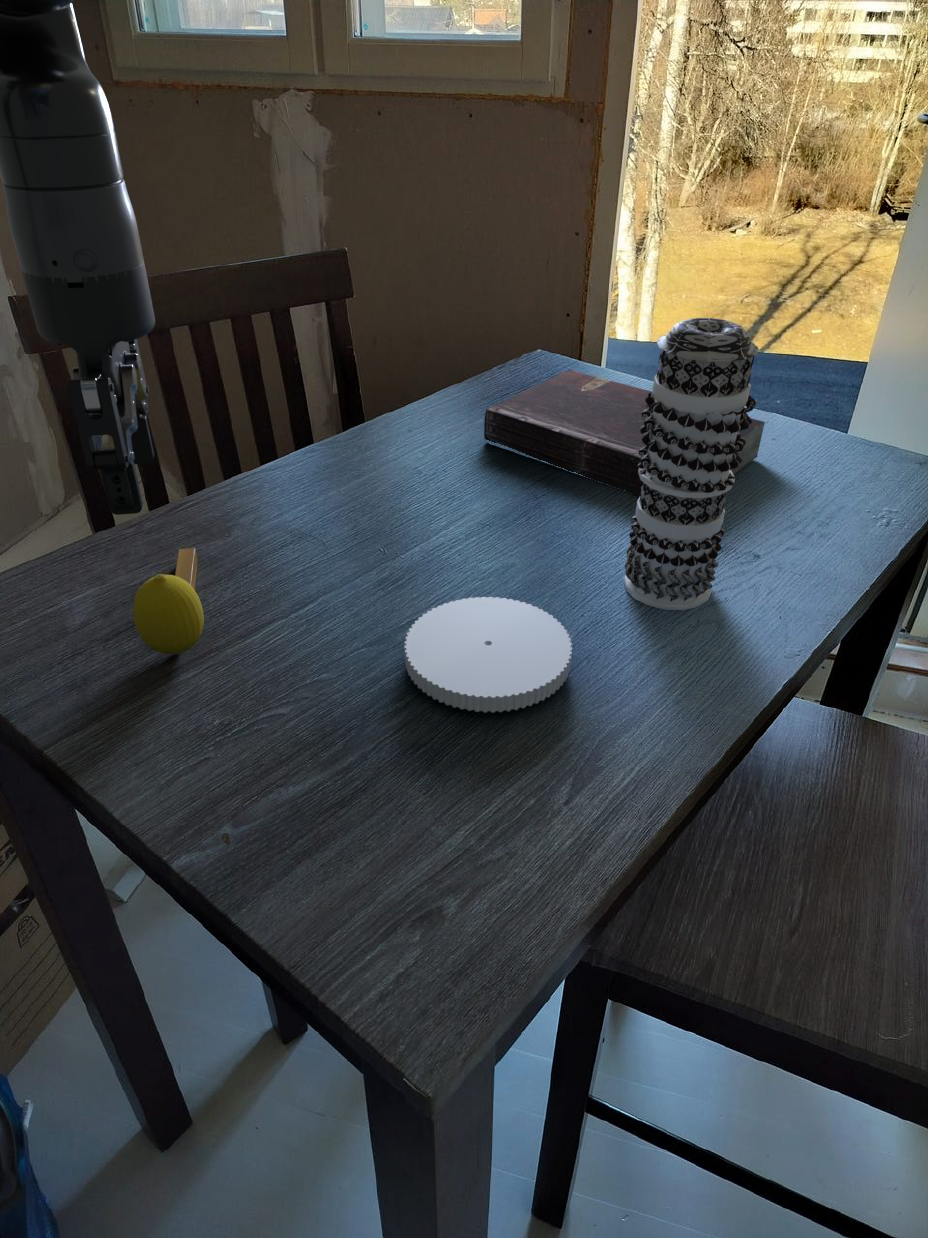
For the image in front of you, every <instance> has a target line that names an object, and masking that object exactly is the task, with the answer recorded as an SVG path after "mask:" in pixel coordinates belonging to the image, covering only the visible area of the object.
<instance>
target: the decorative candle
mask: <svg viewBox="0 0 928 1238" xmlns="http://www.w3.org/2000/svg"><path fill="white" fill-rule="evenodd" d="M656 344H657V346H658V348H659V349H660V354H659V357H658V361H657V363H658V370H657V372H656V374H655V376H654V377H653V383H652V391H651V392H652V394H653V396H654V397H651V393H649V394H647V395H646V396H645V402H646V403H647V404H646V409H645V410H643V412H642V417H643V418H644V419H645V420H644V425H643V426H642V427H641V428H640V432H641V434H643V435H642V436H641V440H642V442H643V447H642V448H640V449H639V455H640V456H641V459H640V463H639V464H638V466H637V467H639V470H638V473H639V476H640V479H641V481H643V482H642V485H641V496H639V498H638V499H637V500H636V508H635V515H633V516H632V517H631V519H630V522H631V531H630V532H629V538H630V539H629V544H630V545H629V546H628V547H627V549H626V561H625V562H624V563H625V564H624V568H625V570H624V573H625V574H624V577H623V584H624V589H625V591H626V592H627V593H628V594H629V595H630V596H631V597H632V598H633V599H634V600H636V601H639V602H640V603H642V604H644V605H645V606H648V607H652V608H656V609H661V610H665V611H685V610H686V611H687V610H690V609H694V608H698V607H700V606H702V605H703V604H705V603H706V602H708V601H709V598H710V597H711V594H712V591H713V584H712V582H714V581H716V576H715V574H716V568H718V567H719V562H718V561H717V558H718V557H719V552H720V551H721V550H722V547H723V546H722V544H721V542H722V540H723V537H724V536H725V533H726V531H725V529H724V528H723V527H724V526H723V525H724V524H723V523H724V517H725V513H726V509H725V503H726V498H727V493H728V492H729V491H731V490H732V488H733V486H734V484H735V480H736V477H735V474H734V475H733V473H732V471H731V469H735V468H737V467H739V464H740V463H741V461H742V458H741V457H740V456H739V454H738V453H737V452H739V451H742V450H743V447H744V446H745V444H746V441H745V439H743V438H742V436H741V435H740V434H739V433H740V432H739V433H737V432H738V431H742V430H745V429H748V428H749V425H750V424H751V423H752V419H753V418H752V419H751V417H750V415H749V414H748V413H751V412H752V411H754V408H755V406H756V405H757V400H756V399H755V398H754V397H752V396H751V394H750V391H751V387H752V386H751V384H750V381H751V376H752V372H753V371H752V370H753V365H754V361H755V357H756V356H757V354H758V352H759V351H760V348H759V347H758V346H757V344H756V343H755V342H753V341H751V338H750V336H749V333H748V332H747V331H746V329H745V328H744V327H743V326H742V325H740V324H738V323H736V322H733V321H730V320H726V319H722V318H713V317H695V318H687V319H684V320H681V321H678V322H676V324H674V326H673V327H672V328H671V329H670V331H668V333H666V334H663V335H661V336H660V337H659V338H658V339H657V341H656ZM654 399H655V400H654ZM650 413H653V416H650ZM649 429H651V431H649ZM648 431H649V432H650V435H649V432H648ZM647 450H648V452H647Z"/></svg>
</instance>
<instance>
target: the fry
mask: <svg viewBox="0 0 928 1238" xmlns="http://www.w3.org/2000/svg"><path fill="white" fill-rule="evenodd" d="M198 561H199V560H198V555H197V551H196V548H195V547H187V548H179V549H178V552H177V559H176V564H175V565H176V566H175V573H174V576H177V577H180V578H182V579H183V580H185V581H187V582H188V583H189V584H190V585H191V586H192V588H193V589H194V590H195V591H196V589H195V588H196V580H197V571H198V570H197V569H198V563H199V562H198Z"/></svg>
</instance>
